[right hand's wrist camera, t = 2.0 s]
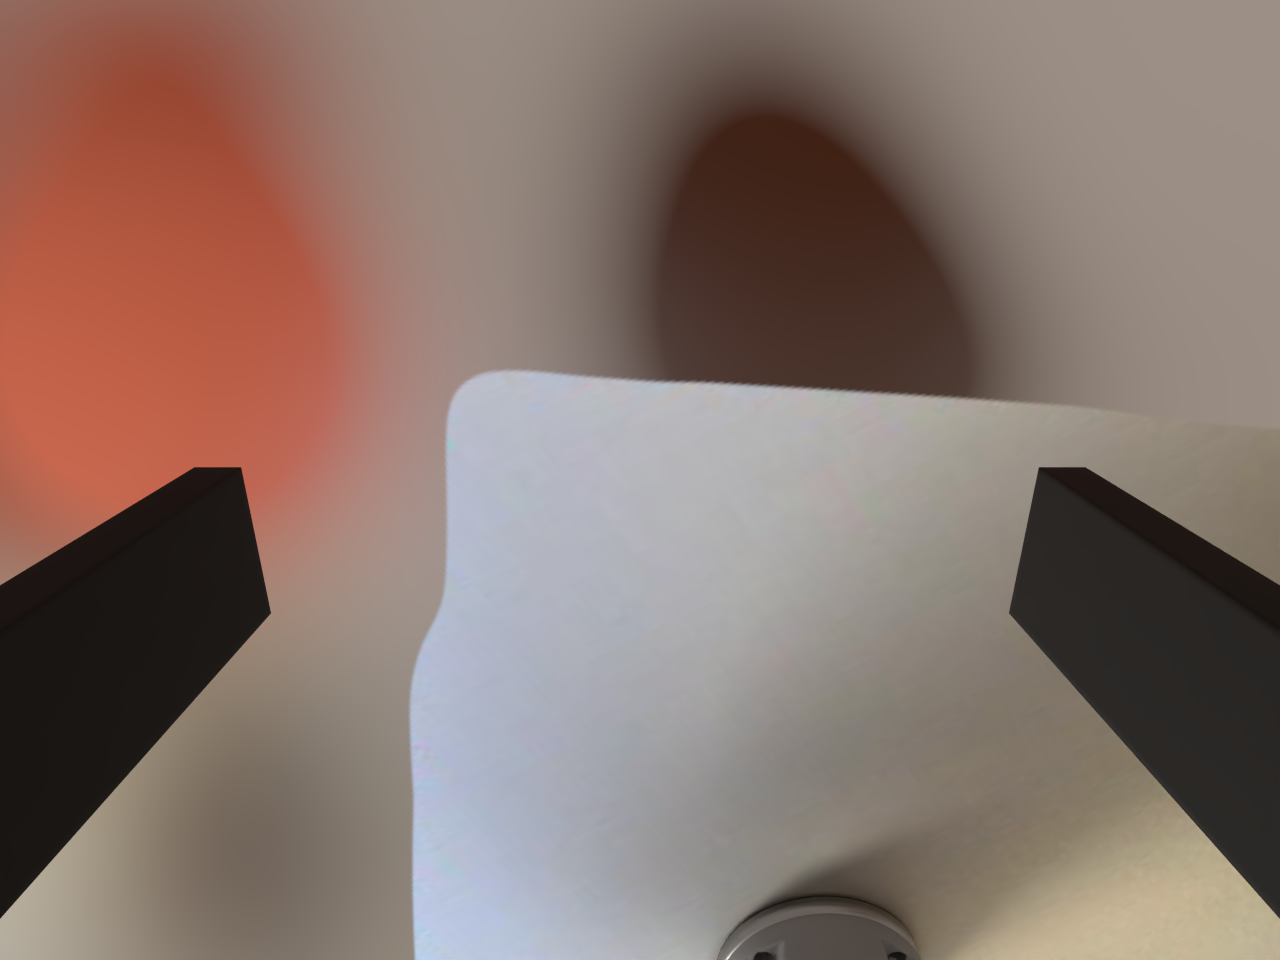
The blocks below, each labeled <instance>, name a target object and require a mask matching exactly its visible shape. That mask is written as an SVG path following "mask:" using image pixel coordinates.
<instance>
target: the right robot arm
mask: <svg viewBox="0 0 1280 960" xmlns="http://www.w3.org/2000/svg"><path fill="white" fill-rule="evenodd" d="M270 614H271V611H270V606H269V601H268V597H267V592H266V587H265V582H264V577H263V572H262V567H261V562H260V558H259V553H258V548H257V543H256V538H255V533H254V528H253V523H252V518H251V514H250V509H249V504H248V499H247V494H246V489H245V485H244V479H243V475H242V470H241V468H240V467H195V468H193V469H191V470H189V471H188V472H186V473H185V474H183V475H181V476H180V477H178V478H176V479H175V480H173V481H171V482H170V483H168V484H166V485H165V486H163V487H161V488H160V489H158V490H157V491H155V492H153V493H152V494H150V495H148V496H147V497H145V498H143V499H142V500H140V501H138V502H137V503H135V504H133V505H132V506H130V507H129V508H127V509H125V510H124V511H122V512H120V513H119V514H117V515H115V516H114V517H112V518H110V519H109V520H107V521H105V522H104V523H102V524H101V525H99V526H97V527H96V528H94V529H92V530H91V531H89V532H87V533H86V534H84V535H82V536H81V537H79V538H78V539H76V540H74V541H73V542H71V543H69V544H68V545H66V546H64V547H63V548H61V549H59V550H58V551H56V552H54V553H53V554H51V555H49V556H48V557H46V558H45V559H43V560H41V561H40V562H38V563H36V564H35V565H33V566H31V567H30V568H28V569H26V570H25V571H23V572H21V573H20V574H18V575H17V576H15V577H13V578H12V579H10V580H8V581H7V582H5V583H3V584H2V585H0V918H1V917H2V916H3V915H4V914H5V913H6V911H7V910H8V909H9V908H10V907H11V906H12V905H13V904H14V902H15V901H16V900H17V899H18V898H19V897H20V896H21V894H22V893H23V892H24V891H25V890H26V889H27V888H28V887H29V885H30V884H31V883H32V882H33V881H34V880H35V879H36V878H37V876H38V875H39V874H40V873H41V872H42V871H43V870H44V869H45V867H46V866H47V865H48V864H49V863H50V862H51V861H52V859H53V858H54V857H55V856H56V855H57V854H58V853H59V852H60V851H61V849H62V848H63V847H64V846H65V845H66V844H67V843H68V842H69V840H70V839H71V838H72V837H73V836H74V835H75V834H76V832H77V831H78V830H79V829H80V828H81V827H82V826H83V825H84V823H85V822H86V821H87V820H88V819H89V818H90V817H91V816H92V814H93V813H94V812H95V811H96V810H97V809H98V808H99V807H100V805H101V804H102V803H103V802H104V801H105V800H106V799H107V798H108V796H109V795H110V794H111V793H112V792H113V791H114V790H115V788H116V787H117V786H118V785H119V784H120V783H121V782H122V781H123V779H124V778H125V777H126V776H127V775H128V774H129V773H130V771H131V770H132V769H133V768H134V767H135V766H136V765H137V764H138V763H139V761H140V760H141V759H142V758H143V757H144V756H145V755H146V754H147V752H148V751H149V750H150V749H151V748H152V747H153V746H154V745H155V743H156V742H157V741H158V740H159V739H160V738H161V737H162V735H163V734H164V733H165V732H166V731H167V730H168V729H169V728H170V726H171V725H172V724H173V723H174V722H175V721H176V720H177V719H178V717H179V716H180V715H181V714H182V713H183V712H184V711H185V710H186V708H187V707H188V706H189V705H190V704H191V703H192V702H193V701H194V699H195V698H196V697H197V696H198V695H199V694H200V693H201V692H202V690H203V689H204V688H205V687H206V686H207V685H208V684H209V682H210V681H211V680H212V679H213V678H214V677H215V676H216V675H217V673H218V672H219V671H220V670H221V669H222V668H223V667H224V666H225V664H226V663H227V662H228V661H229V660H230V659H231V658H232V657H233V655H234V654H235V653H236V652H237V651H238V650H239V649H240V648H241V646H242V645H243V644H244V643H245V642H246V641H247V640H248V638H249V637H250V636H251V635H252V634H253V633H254V632H255V631H256V629H257V628H258V627H259V626H260V625H261V624H262V623H263V622H264V620H265V619H266V618H267V617H268V616H269V615H270ZM1009 614H1010V615H1011V616H1012V617H1013V618H1014V619H1015V620H1016V622H1017V623H1018V624H1019V625H1020V626H1021V627H1022V628H1023V629H1024V631H1025V632H1026V633H1027V634H1028V635H1029V636H1030V637H1031V638H1032V640H1033V641H1034V642H1035V643H1036V644H1037V645H1038V646H1039V648H1040V649H1041V650H1042V651H1043V652H1044V653H1045V654H1046V655H1047V657H1048V658H1049V659H1050V660H1051V661H1052V662H1053V663H1054V664H1055V666H1056V667H1057V668H1058V669H1059V670H1060V671H1061V672H1062V673H1063V675H1064V676H1065V677H1066V678H1067V679H1068V680H1069V681H1070V682H1071V684H1072V685H1073V686H1074V687H1075V688H1076V689H1077V690H1078V692H1079V693H1080V694H1081V695H1082V696H1083V697H1084V698H1085V699H1086V701H1087V702H1088V703H1089V704H1090V705H1091V706H1092V707H1093V708H1094V710H1095V711H1096V712H1097V713H1098V714H1099V715H1100V716H1101V717H1102V719H1103V720H1104V721H1105V722H1106V723H1107V724H1108V725H1109V726H1110V728H1111V729H1112V730H1113V731H1114V732H1115V733H1116V734H1117V735H1118V737H1119V738H1120V739H1121V740H1122V741H1123V742H1124V743H1125V745H1126V746H1127V747H1128V748H1129V749H1130V750H1131V751H1132V752H1133V754H1134V755H1135V756H1136V757H1137V758H1138V759H1139V760H1140V761H1141V763H1142V764H1143V765H1144V766H1145V767H1146V768H1147V769H1148V770H1149V772H1150V773H1151V774H1152V775H1153V776H1154V777H1155V778H1156V779H1157V781H1158V782H1159V783H1160V784H1161V785H1162V786H1163V787H1164V789H1165V790H1166V791H1167V792H1168V793H1169V794H1170V795H1171V796H1172V798H1173V799H1174V800H1175V801H1176V802H1177V803H1178V804H1179V805H1180V807H1181V808H1182V809H1183V810H1184V811H1185V812H1186V813H1187V814H1188V816H1189V817H1190V818H1191V819H1192V820H1193V821H1194V822H1195V823H1196V825H1197V826H1198V827H1199V828H1200V829H1201V830H1202V831H1203V832H1204V834H1205V835H1206V836H1207V837H1208V838H1209V839H1210V840H1211V842H1212V843H1213V844H1214V845H1215V846H1216V847H1217V848H1218V849H1219V851H1220V852H1221V853H1222V854H1223V855H1224V856H1225V857H1226V858H1227V860H1228V861H1229V862H1230V863H1231V864H1232V865H1233V866H1234V867H1235V869H1236V870H1237V871H1238V872H1239V873H1240V874H1241V875H1242V876H1243V878H1244V879H1245V880H1246V881H1247V882H1248V883H1249V884H1250V885H1251V887H1252V888H1253V889H1254V890H1255V891H1256V892H1257V893H1258V895H1259V896H1260V897H1261V898H1262V899H1263V900H1264V901H1265V902H1266V904H1267V905H1268V906H1269V907H1270V908H1271V909H1272V910H1273V911H1274V913H1275V914H1276V915H1277V916H1278V917H1279V918H1280V585H1278V584H1277V583H1275V582H1273V581H1272V580H1270V579H1268V578H1267V577H1265V576H1263V575H1262V574H1260V573H1259V572H1257V571H1255V570H1254V569H1252V568H1250V567H1249V566H1247V565H1245V564H1244V563H1242V562H1240V561H1239V560H1237V559H1235V558H1234V557H1232V556H1231V555H1229V554H1227V553H1226V552H1224V551H1222V550H1221V549H1219V548H1217V547H1216V546H1214V545H1212V544H1211V543H1209V542H1207V541H1206V540H1204V539H1203V538H1201V537H1199V536H1198V535H1196V534H1194V533H1193V532H1191V531H1189V530H1188V529H1186V528H1184V527H1183V526H1181V525H1179V524H1178V523H1176V522H1175V521H1173V520H1171V519H1170V518H1168V517H1166V516H1165V515H1163V514H1161V513H1160V512H1158V511H1156V510H1155V509H1153V508H1151V507H1150V506H1148V505H1147V504H1145V503H1143V502H1142V501H1140V500H1138V499H1137V498H1135V497H1133V496H1132V495H1130V494H1128V493H1127V492H1125V491H1123V490H1122V489H1120V488H1119V487H1117V486H1115V485H1114V484H1112V483H1110V482H1109V481H1107V480H1105V479H1104V478H1102V477H1100V476H1099V475H1097V474H1095V473H1094V472H1092V471H1091V470H1089V469H1087V468H1086V467H1039V470H1038V475H1037V479H1036V484H1035V489H1034V494H1033V499H1032V504H1031V509H1030V514H1029V518H1028V523H1027V528H1026V533H1025V538H1024V543H1023V548H1022V553H1021V558H1020V562H1019V567H1018V572H1017V577H1016V582H1015V587H1014V592H1013V597H1012V601H1011V606H1010V611H1009ZM717 960H921V959H920V956H919V954H918V951H917V948H916V945H915V943H914V941H913V939H912V937H911V935H910V934H909V932H908V930H907V929H906V928H905V927H904V926H903V925H902V924H901V923H900V922H899V921H898V920H897V919H896V918H894V917H893V916H892V915H890V914H889V913H887V912H885V911H884V910H882V909H880V908H878V907H876V906H873V905H871V904H868V903H865V902H862V901H858V900H854V899H848V898H841V897H810V898H802V899H797V900H792V901H788V902H784V903H781V904H778V905H775V906H773V907H770V908H768V909H766V910H764V911H762V912H760V913H758V914H756V915H754V916H753V917H751V918H750V919H748V920H747V921H745V922H744V923H743V924H741V925H740V926H739V927H738V928H737V929H736V930H735V931H734V932H733V933H732V934H731V935H730V937H729V938H728V939H727V941H726V942H725V944H724V945H723V947H722V949H721V951H720V953H719V956H718V959H717Z"/></svg>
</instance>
